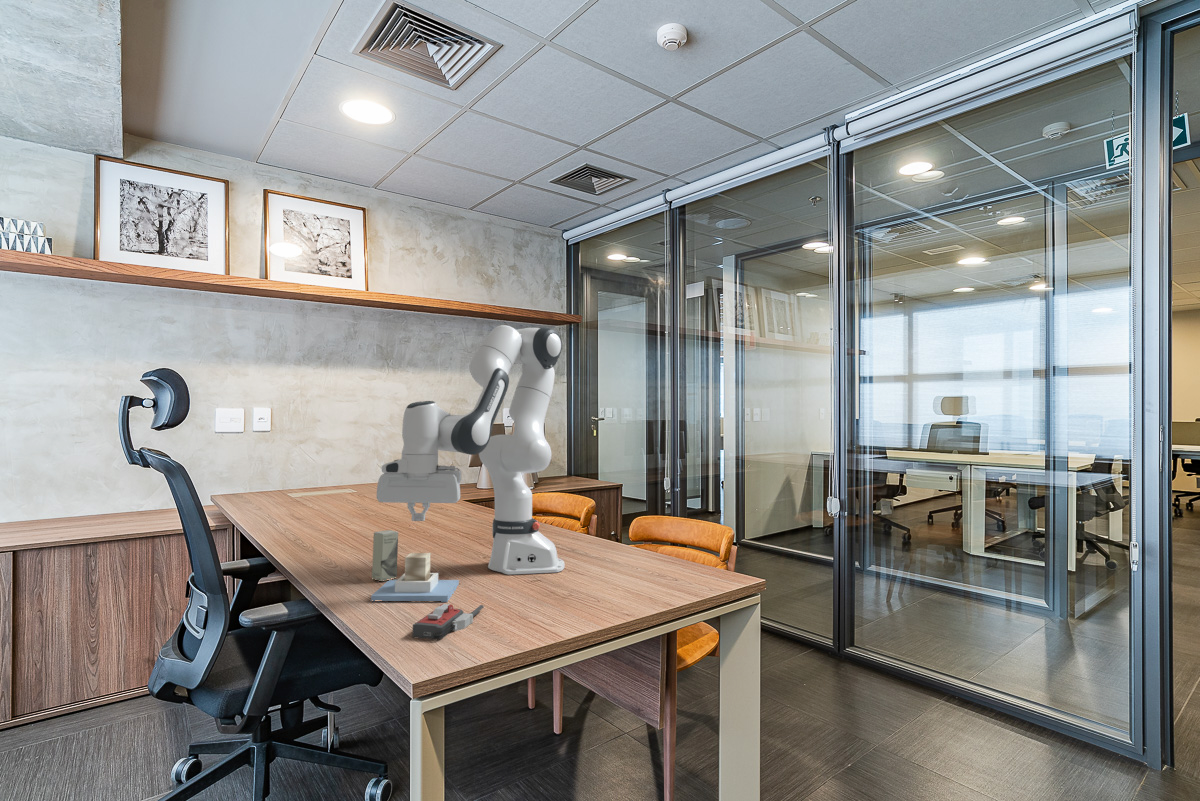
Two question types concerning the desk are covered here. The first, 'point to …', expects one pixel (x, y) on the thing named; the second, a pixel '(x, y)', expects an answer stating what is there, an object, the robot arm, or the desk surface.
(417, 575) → the block
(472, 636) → the desk surface
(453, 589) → the base plate
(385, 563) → the box
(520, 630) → the desk surface
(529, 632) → the desk surface
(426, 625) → the walkie-talkie
